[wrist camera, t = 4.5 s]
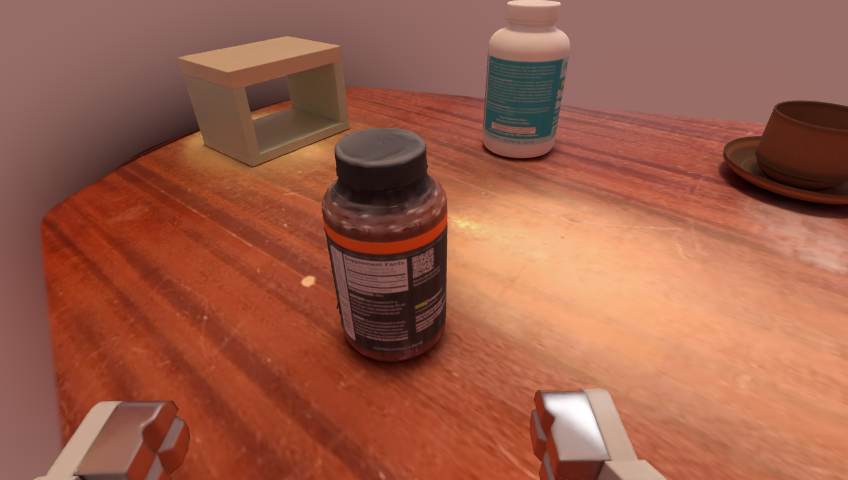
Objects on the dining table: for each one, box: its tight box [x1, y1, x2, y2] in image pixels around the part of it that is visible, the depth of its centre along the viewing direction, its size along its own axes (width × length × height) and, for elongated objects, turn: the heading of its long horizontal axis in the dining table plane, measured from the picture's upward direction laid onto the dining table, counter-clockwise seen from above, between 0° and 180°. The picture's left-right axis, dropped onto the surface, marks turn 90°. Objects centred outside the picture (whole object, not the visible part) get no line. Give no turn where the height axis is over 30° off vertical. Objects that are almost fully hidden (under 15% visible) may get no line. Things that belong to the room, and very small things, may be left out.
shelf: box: [178, 36, 349, 167], centre depth 47 cm, size 13×9×9 cm
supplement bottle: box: [322, 128, 447, 362], centre depth 22 cm, size 6×6×11 cm
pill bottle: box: [483, 0, 570, 158], centre depth 43 cm, size 8×7×14 cm
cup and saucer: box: [723, 101, 848, 204], centre depth 38 cm, size 12×12×6 cm
